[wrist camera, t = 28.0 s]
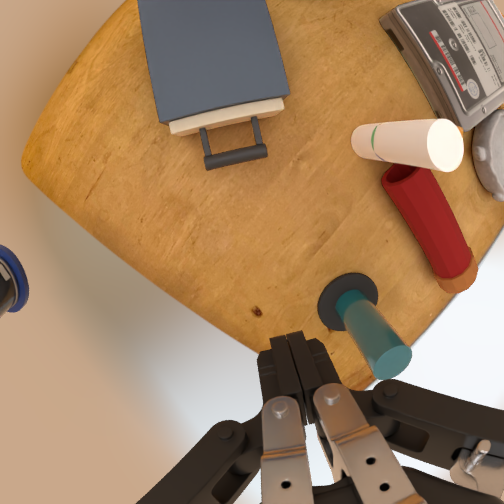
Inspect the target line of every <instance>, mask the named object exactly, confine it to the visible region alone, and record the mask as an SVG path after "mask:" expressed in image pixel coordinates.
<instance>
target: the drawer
mask: <svg viewBox="0 0 504 504" xmlns="http://www.w3.org/2000/svg"><path fill="white" fill-rule="evenodd" d="M284 109H285V108H284V104H283V99H282V97H280V98H273V99H267V100H261V101H256V102H250V103H245V104H240V105H235V106H230V107H226V108H221V109H217V110H212V111H208V112H204V113H200V114H196V115H192V116H188V117H185V118H181V119H178V120H174V121H171V122H169V127H170V131H171V134H173V135H177V136H181V137H182V136H186V135H190V134H193V133H197V132H200V136H201V140H202V144H203V149H204V153H205V157H204V163H205V167H206V170H207V171H208V170H212V169H216V168H220V167H224V166H229V165H233V164H238V163H242V162H247V161H251V160H256V159H261V158H266V157H268V153H267V148H266V145H265V144H263V142H262V137H261V133H260V128H259V124H258V119H261V118H266V117H272V116H275V115H277V114H278V113H279V112H281V111H282V110H284ZM250 120H251V123H252V128H253V132H254V137H255V141H256V145H254V146H249V147H244V148H239V149H235V150H230V151H226V152H222V153H218V154H213V155H212V154H211V150H210V145H209V141H208V137H207V132H206V130H209V129H213V128H218V127H222V126H226V125H231V124H235V123H240V122H245V121H250Z"/></svg>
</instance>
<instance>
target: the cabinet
mask: <svg viewBox="0 0 504 504" xmlns="http://www.w3.org/2000/svg"><path fill="white" fill-rule="evenodd" d="M137 1H138V8H139V15H140V22H141V28H142V34H143V40H144V46H145V52H146V57H147V63H148V68H149V73H150V78H151V84H152V89H153V93H154V98H155V103H156V108H157V112H158V117H159V122H160V123H163V124H165V125H168V126H169V122H171V121H174V120H178V119H181V118H185V117H188V116H192V115H196V114H200V113H204V112H208V111H212V110H217V109H221V108H226V107H230V106H235V105H240V104H245V103H250V102H256V101H261V100H267V99H273V98H280V97H282V99H283V100H284V99H285V98H286V97H287V96H288V95H290V90H289V86H288V82H287V78H286V74H285V70H284V66H283V62H282V58H281V54H280V50H279V46H278V43H277V39H276V35H275V32H274V28H273V25H272V21H271V18H270V14H269V11H268V8H267V4H266V1H265V0H137Z"/></svg>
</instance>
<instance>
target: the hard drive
mask: <svg viewBox="0 0 504 504" xmlns="http://www.w3.org/2000/svg"><path fill="white" fill-rule="evenodd" d="M379 21H380V24H381V25H382V27H383V28H384V30H385V31H386V32H387V34H388V35H389V37H390V38H391V39H392V41H393V42H394V44H395V45H396V47H397V48H398V50H399V51H400V53H401V54H402V56H403V58H404V59H405V61H406V62H407V64H408V66H409V67H410V69H411V71H412V72H413V74H414V76H415V77H416V79H417V81H418V83H419V84H420V86H421V88H422V90H423V92H424V94H425V96H426V97H427V99H428V101H429V103H430V105H431V107H432V109H433V111H434V113H435V115H436V117H437V119H447V120H450V121H451V122H453V123H454V124H455V125H456V126H458V127H462V128H463V132H466V131H469V130H471V129H472V128H473V127H474V126H476V125H477V124H478V123H479V122H481V121H482V120H483V119H484V118H486V117H487V116H488V115H489V114H490V113H492V112H493V111H494V110H495V109H497V108H498V107H499V106H500V105H502V104H503V103H504V18H503V16H502V15H501V13H500V11H499V9H498V8H497V6H496V5H495V3H494V1H493V0H414V1H411V2H408V3H404V4H401V5H398V6H397V7H395V8H394V9H392V10H391V11H389V12H388V13H386V14H385V15H383V16H382V17H381V18H380V19H379Z"/></svg>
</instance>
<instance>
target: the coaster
mask: <svg viewBox="0 0 504 504" xmlns="http://www.w3.org/2000/svg"><path fill="white" fill-rule="evenodd" d="M349 290H360V291H362V292H364V294H365V295H366V296H367V297H368V298H369V299H370V300H371V302H372V303H373V304H374V305H375V306H376V305H377V300H378V291H377V288H376V285H375V284H374V282H373V281H372V280H371V279H370V278H369V277H367V276H366V275H363V274H360V273H348V274H344V275H341V276H339V277H337V278H336V279H334V280H333V281H332V282H330V283H329V284H328V285H327V286H326V288H325V289H324V290H323V292H322V294H321V296H320V298H319V302H318V314H319V317H320V319H321V321H322V322H323V323H324V325H326V326H327V327H328V328H330V329H332V330H336V331H347V330H346V328H345V327H344V325H343V323H342V322H341V320H340V319H339V317H338V315H337V314H336V310H335V307H336V303H337V301H338V299H339V298H340V296H341V295H342V294H344V293H345V292H347V291H349Z"/></svg>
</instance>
